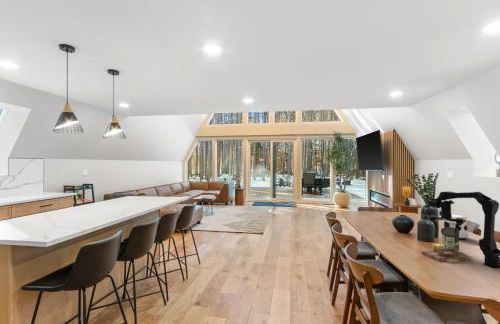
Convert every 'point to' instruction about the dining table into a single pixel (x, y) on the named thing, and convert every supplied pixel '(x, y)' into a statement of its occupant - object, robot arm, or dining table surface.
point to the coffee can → (449, 237)
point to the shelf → (444, 254)
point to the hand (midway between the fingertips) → (446, 231)
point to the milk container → (461, 228)
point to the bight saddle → (436, 247)
